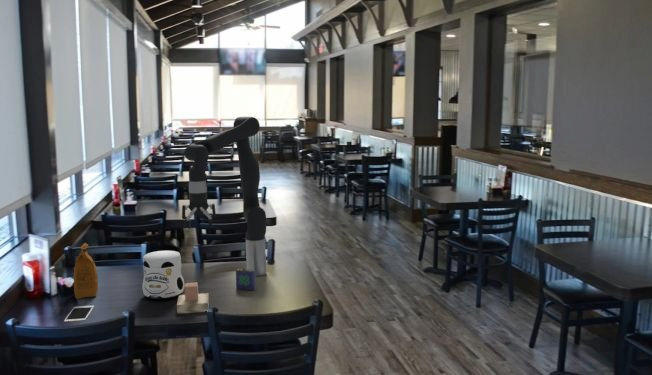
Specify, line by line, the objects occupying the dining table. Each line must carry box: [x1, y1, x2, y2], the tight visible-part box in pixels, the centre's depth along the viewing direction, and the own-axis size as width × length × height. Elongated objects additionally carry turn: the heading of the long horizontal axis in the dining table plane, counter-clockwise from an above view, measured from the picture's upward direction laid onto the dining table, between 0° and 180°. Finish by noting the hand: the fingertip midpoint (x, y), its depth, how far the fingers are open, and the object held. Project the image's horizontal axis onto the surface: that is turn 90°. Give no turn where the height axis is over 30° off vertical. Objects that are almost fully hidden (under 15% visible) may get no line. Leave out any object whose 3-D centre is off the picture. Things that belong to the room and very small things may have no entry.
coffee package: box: [73, 242, 99, 300], centre depth 250 cm, size 10×12×22 cm
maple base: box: [176, 292, 210, 315], centre depth 235 cm, size 12×12×4 cm
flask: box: [235, 265, 257, 292], centre depth 256 cm, size 9×3×11 cm, turn 74°
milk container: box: [141, 250, 185, 300], centre depth 249 cm, size 17×17×18 cm
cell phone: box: [63, 305, 95, 323], centre depth 230 cm, size 8×16×1 cm, turn 10°
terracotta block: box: [184, 281, 199, 302], centre depth 235 cm, size 5×5×6 cm
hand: (199, 227), depth 252 cm, fingers open, 8 cm apart
